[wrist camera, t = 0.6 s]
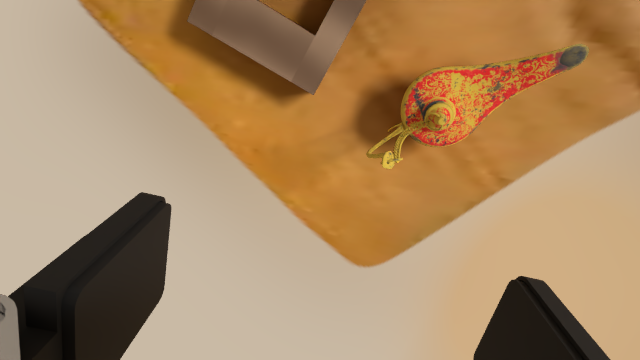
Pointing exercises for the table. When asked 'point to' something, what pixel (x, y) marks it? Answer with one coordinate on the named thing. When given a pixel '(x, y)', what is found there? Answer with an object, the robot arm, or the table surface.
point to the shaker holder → (278, 36)
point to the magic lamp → (468, 97)
